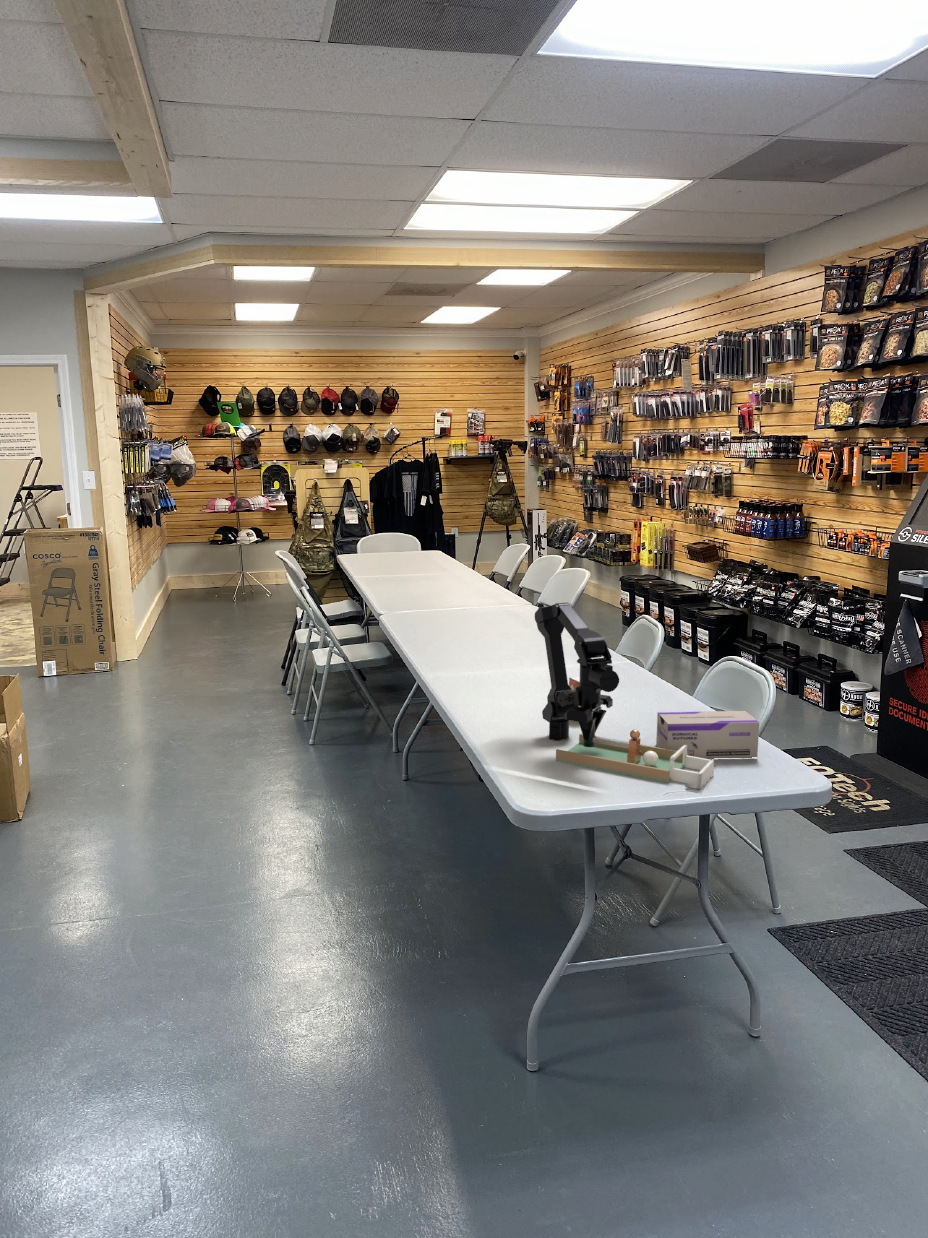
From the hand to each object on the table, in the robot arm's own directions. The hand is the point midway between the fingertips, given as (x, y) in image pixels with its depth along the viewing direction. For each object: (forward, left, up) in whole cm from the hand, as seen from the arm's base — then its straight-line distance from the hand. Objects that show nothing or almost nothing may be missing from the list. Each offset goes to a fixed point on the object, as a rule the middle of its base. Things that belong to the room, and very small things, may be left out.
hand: (588, 738), depth 240 cm
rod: (0, +6, -4) cm, 8 cm away
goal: (0, +29, -6) cm, 29 cm away
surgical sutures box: (-21, +26, -6) cm, 34 cm away
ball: (0, +18, -2) cm, 18 cm away
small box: (-33, -16, -6) cm, 37 cm away
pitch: (0, +10, -6) cm, 11 cm away
